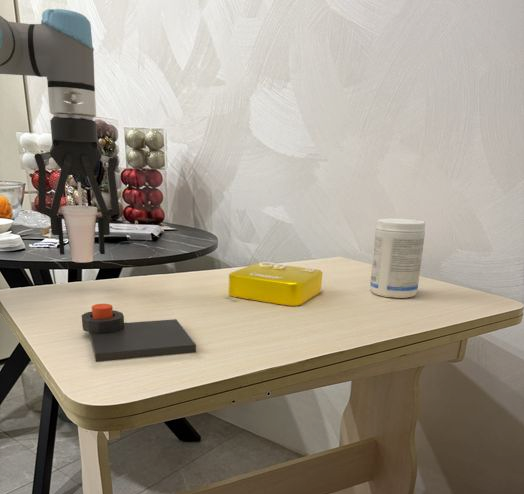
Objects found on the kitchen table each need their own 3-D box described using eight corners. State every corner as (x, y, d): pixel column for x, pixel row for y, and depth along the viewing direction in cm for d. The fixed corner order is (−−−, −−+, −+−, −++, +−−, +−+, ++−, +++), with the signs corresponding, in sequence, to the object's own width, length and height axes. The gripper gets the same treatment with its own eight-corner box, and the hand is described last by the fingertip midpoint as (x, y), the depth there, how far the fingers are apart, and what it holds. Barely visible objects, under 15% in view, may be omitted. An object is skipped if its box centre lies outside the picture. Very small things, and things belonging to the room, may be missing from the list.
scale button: (93, 321, 73) (92, 309, 72) (91, 315, 75) (91, 304, 75) (114, 320, 74) (113, 308, 73) (111, 314, 76) (111, 302, 76)
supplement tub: (423, 293, 108) (434, 221, 103) (406, 302, 101) (417, 224, 96) (380, 285, 113) (388, 216, 108) (360, 293, 106) (368, 219, 101)
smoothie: (105, 258, 100) (102, 182, 95) (92, 265, 94) (87, 184, 89) (73, 256, 100) (68, 180, 96) (58, 262, 94) (51, 181, 90)
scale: (88, 363, 65) (87, 340, 64) (82, 330, 77) (80, 311, 76) (196, 352, 70) (196, 331, 69) (174, 323, 82) (174, 305, 81)
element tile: (224, 296, 99) (225, 271, 98) (257, 281, 112) (258, 259, 111) (298, 307, 94) (299, 281, 92) (323, 291, 107) (325, 267, 105)
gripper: (9, 111, 82) (24, 257, 90) (134, 121, 89) (138, 256, 97) (12, 114, 89) (26, 250, 97) (128, 123, 96) (132, 249, 103)
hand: (82, 252), depth 97 cm, fingers closed on smoothie, 6 cm apart
